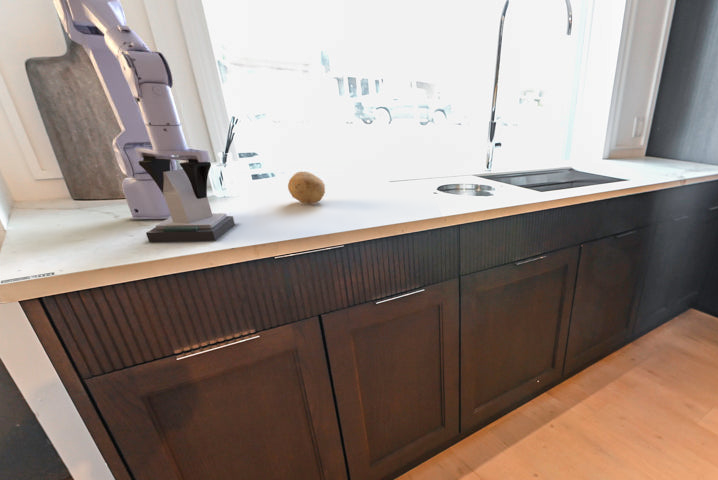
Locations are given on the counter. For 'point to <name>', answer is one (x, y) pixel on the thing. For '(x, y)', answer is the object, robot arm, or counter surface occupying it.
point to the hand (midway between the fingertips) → (185, 196)
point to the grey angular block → (183, 198)
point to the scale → (191, 229)
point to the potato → (306, 187)
